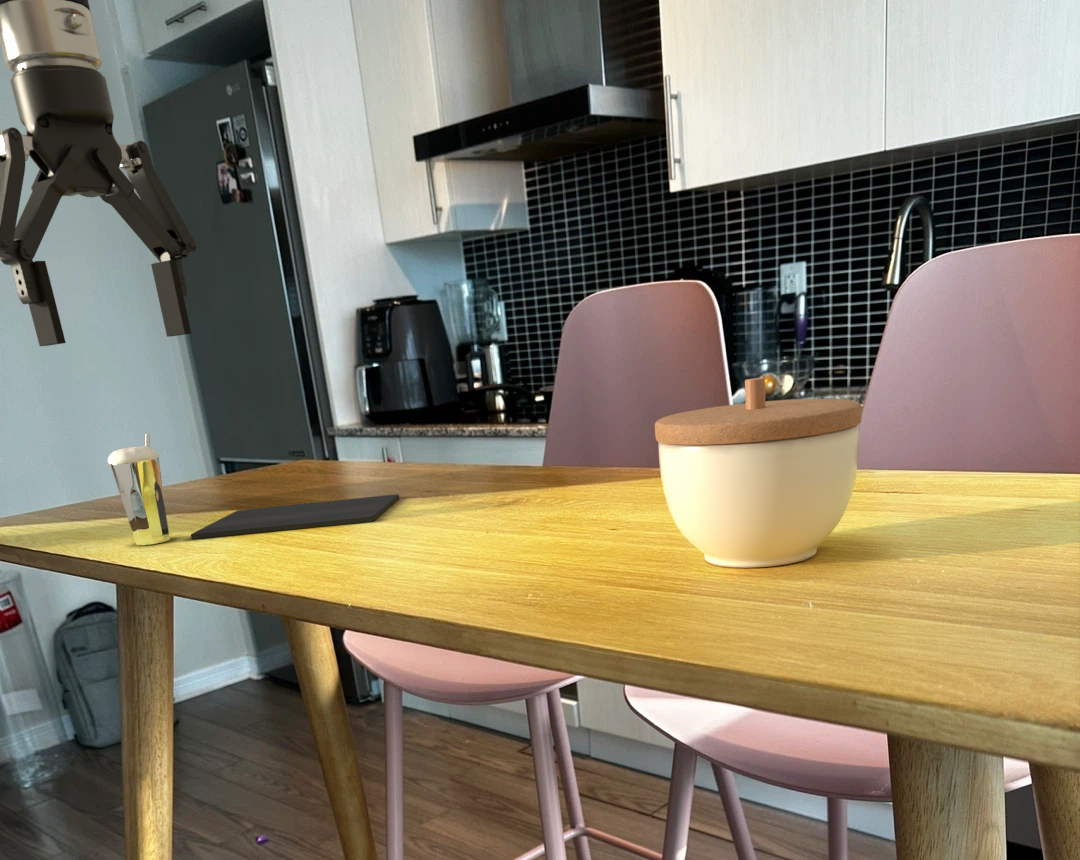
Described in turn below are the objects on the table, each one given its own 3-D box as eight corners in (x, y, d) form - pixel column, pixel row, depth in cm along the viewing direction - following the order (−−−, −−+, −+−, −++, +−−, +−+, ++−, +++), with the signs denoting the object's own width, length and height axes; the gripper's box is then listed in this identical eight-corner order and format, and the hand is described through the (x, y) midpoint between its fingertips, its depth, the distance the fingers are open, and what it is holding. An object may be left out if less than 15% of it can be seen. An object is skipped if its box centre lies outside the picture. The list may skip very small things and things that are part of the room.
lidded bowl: (794, 586, 59) (790, 385, 55) (624, 569, 67) (611, 394, 64) (896, 540, 67) (899, 362, 63) (733, 530, 76) (727, 373, 72)
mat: (191, 539, 99) (190, 534, 99) (238, 514, 112) (237, 510, 112) (373, 521, 98) (372, 516, 98) (399, 498, 111) (398, 494, 111)
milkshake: (191, 534, 102) (168, 431, 99) (159, 545, 98) (133, 437, 94) (152, 536, 104) (128, 434, 100) (119, 548, 99) (92, 441, 95)
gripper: (-66, 37, 75) (16, 345, 82) (202, 81, 94) (249, 328, 102) (-118, 61, 79) (-35, 353, 86) (150, 99, 98) (199, 335, 106)
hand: (119, 340), depth 94 cm, fingers open, 13 cm apart
